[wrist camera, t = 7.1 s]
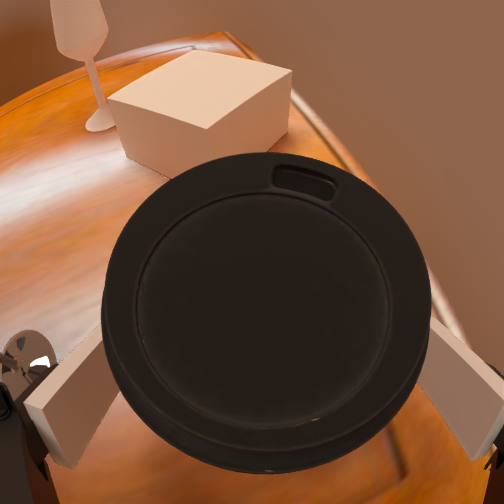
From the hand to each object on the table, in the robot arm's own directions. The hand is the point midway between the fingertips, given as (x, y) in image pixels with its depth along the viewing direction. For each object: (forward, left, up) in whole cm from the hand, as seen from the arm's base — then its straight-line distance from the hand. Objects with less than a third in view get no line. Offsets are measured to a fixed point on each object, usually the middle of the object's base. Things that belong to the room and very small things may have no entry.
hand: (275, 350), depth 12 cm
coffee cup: (0, +1, -8) cm, 8 cm away
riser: (+17, +19, -8) cm, 26 cm away
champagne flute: (+15, +36, -8) cm, 39 cm away
